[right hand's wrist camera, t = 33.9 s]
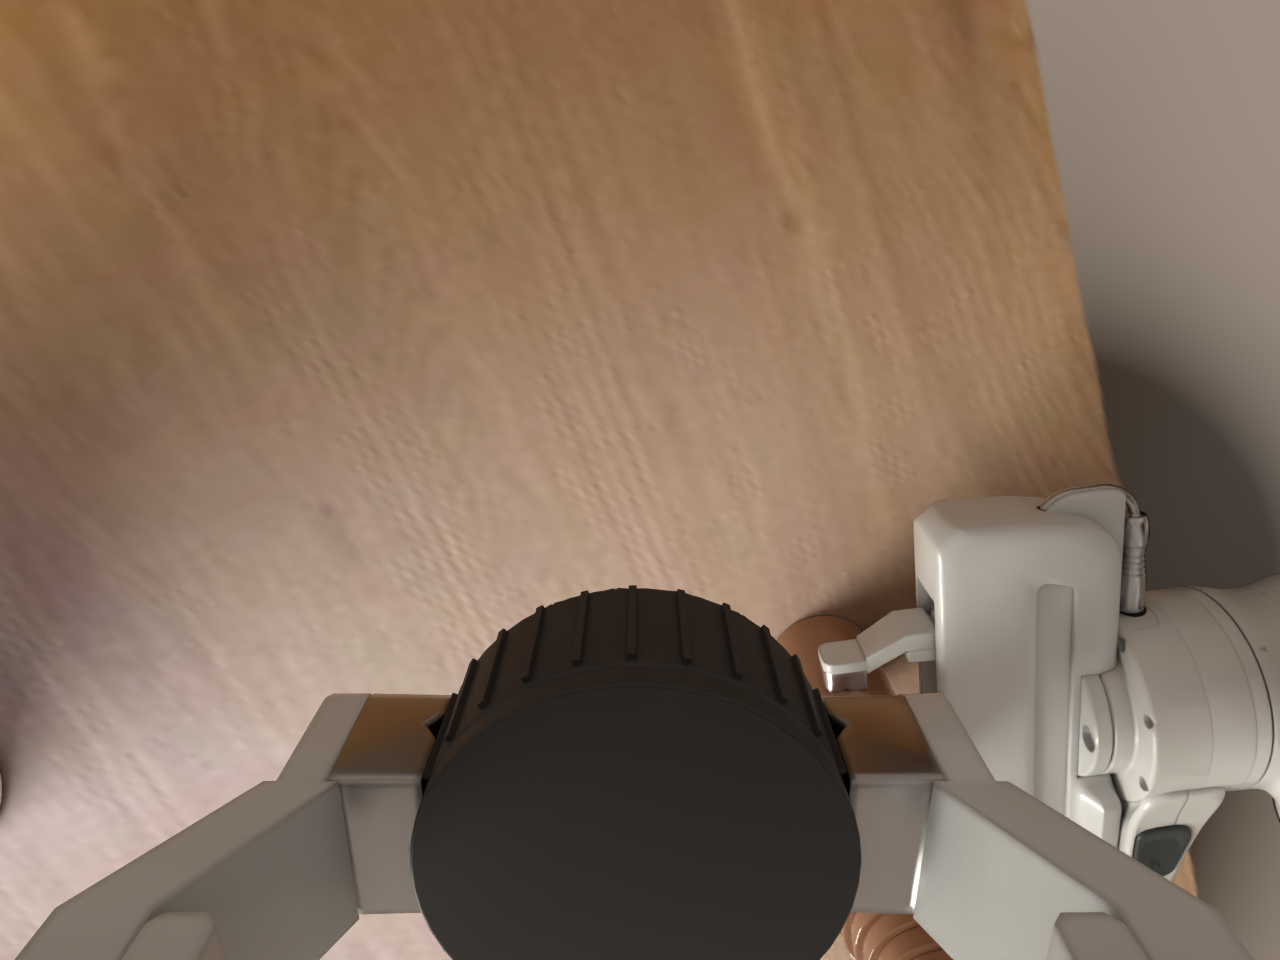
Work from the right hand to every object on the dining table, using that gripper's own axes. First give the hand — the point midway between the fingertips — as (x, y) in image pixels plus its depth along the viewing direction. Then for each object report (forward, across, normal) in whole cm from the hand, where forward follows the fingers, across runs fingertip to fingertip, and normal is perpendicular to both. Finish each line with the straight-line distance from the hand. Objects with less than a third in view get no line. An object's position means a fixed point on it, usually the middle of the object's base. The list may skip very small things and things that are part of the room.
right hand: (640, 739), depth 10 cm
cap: (-2, 0, 0) cm, 2 cm away
